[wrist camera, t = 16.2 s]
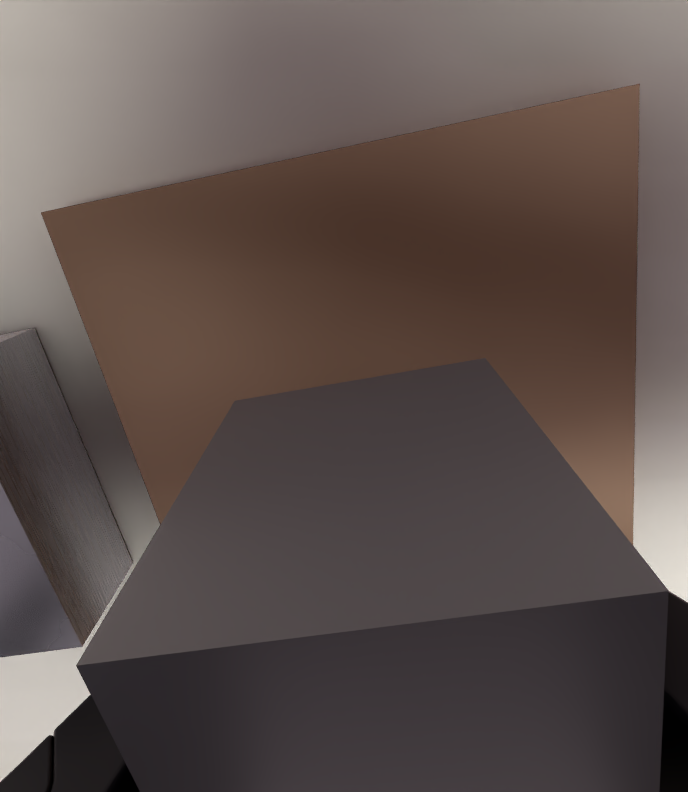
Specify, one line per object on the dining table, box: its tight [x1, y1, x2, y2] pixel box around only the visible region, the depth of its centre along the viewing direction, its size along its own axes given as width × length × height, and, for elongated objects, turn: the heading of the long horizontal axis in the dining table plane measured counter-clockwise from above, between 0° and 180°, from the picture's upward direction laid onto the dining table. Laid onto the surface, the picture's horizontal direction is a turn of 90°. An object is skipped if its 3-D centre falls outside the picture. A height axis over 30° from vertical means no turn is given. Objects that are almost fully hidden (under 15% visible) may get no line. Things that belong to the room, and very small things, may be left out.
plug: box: [76, 358, 669, 792], centre depth 8 cm, size 10×4×5 cm, turn 11°
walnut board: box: [41, 84, 640, 545], centre depth 12 cm, size 18×10×1 cm, turn 11°
